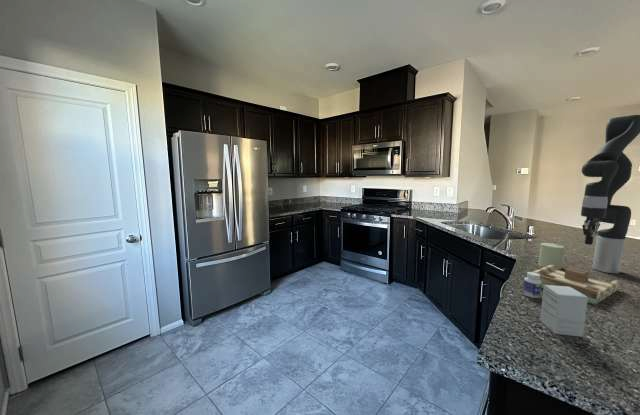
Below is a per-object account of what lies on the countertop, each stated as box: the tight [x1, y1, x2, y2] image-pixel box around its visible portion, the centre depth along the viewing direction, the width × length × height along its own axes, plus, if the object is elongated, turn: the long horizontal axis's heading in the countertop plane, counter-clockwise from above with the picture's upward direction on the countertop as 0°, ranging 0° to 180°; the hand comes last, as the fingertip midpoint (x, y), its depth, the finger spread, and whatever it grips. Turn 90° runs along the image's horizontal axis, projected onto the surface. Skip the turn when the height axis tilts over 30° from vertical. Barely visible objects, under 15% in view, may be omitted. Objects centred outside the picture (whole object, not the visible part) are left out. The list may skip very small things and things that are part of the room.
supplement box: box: [539, 285, 588, 338], centre depth 78 cm, size 7×7×13 cm
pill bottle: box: [522, 271, 542, 299], centre depth 100 cm, size 5×5×9 cm
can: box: [537, 242, 565, 270], centre depth 132 cm, size 9×9×12 cm
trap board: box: [525, 265, 620, 305], centre depth 109 cm, size 26×22×5 cm
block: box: [564, 266, 590, 283], centre depth 111 cm, size 6×6×4 cm
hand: (588, 244), depth 114 cm, fingers closed
